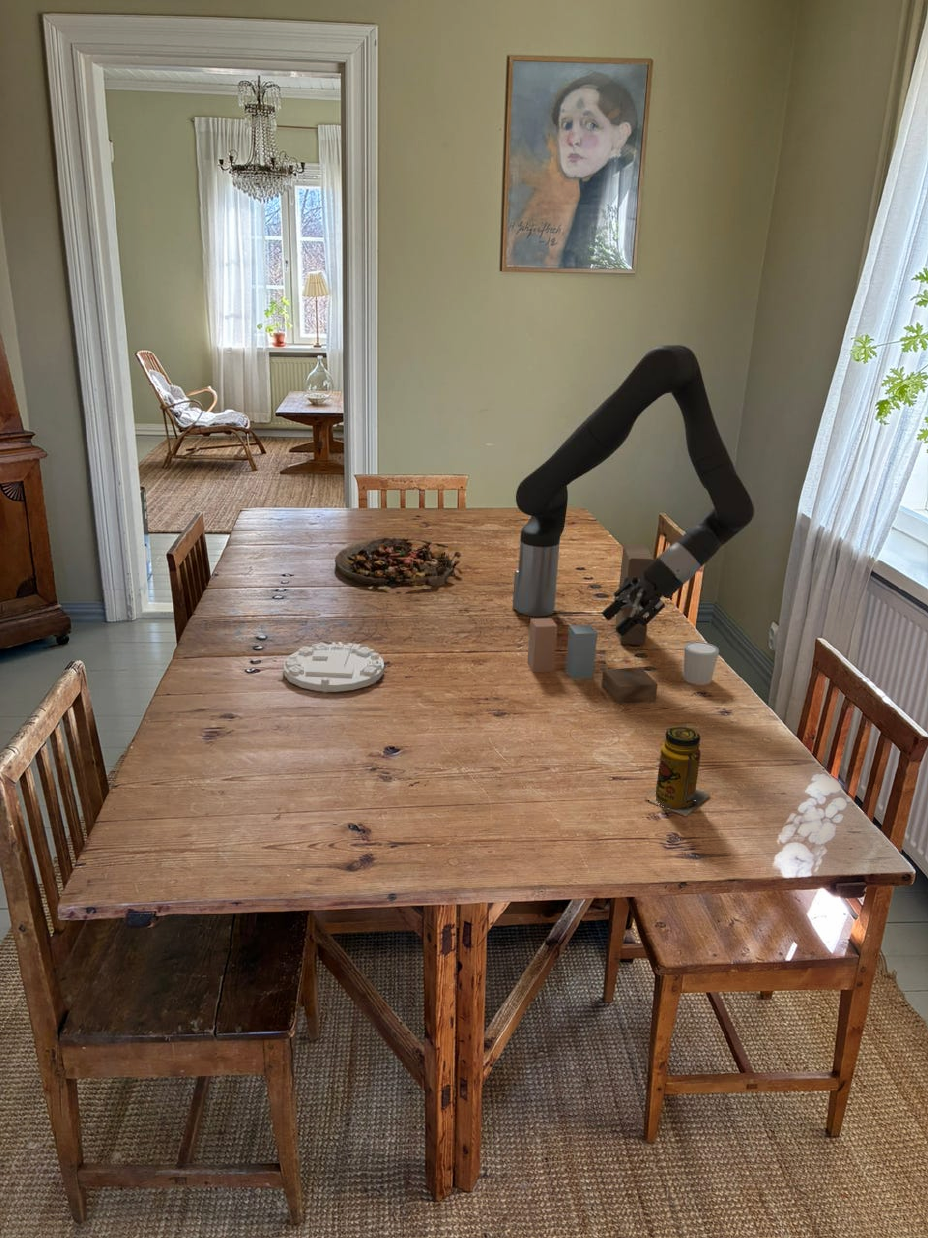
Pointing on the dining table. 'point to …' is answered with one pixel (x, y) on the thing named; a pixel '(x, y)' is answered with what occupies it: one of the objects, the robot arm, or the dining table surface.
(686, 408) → the robot arm
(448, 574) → the food dish
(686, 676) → the white short cylinder
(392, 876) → the dining table surface
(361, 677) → the embossed medallion
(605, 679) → the walnut plinth
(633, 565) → the decorative block
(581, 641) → the blue pillar
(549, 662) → the terracotta pillar
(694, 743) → the condiment
